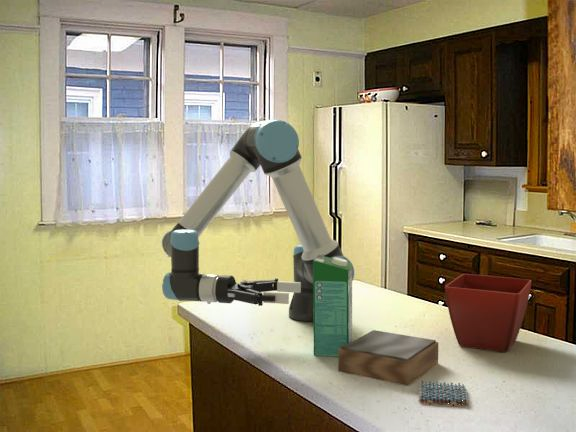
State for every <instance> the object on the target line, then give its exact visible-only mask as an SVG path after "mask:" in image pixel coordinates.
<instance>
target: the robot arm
mask: <svg viewBox="0 0 576 432" xmlns="http://www.w3.org/2000/svg"><path fill="white" fill-rule="evenodd" d="M299 146H300V139H299V134H298V133H297V131H296V129H295V127H293V126H292V124H290V123H289V122H287V121H284V120H282V119H275V118H274V119H273V118H272V119H267V120H260V121H255V122H254V123H253V124H251V125H250V126H248V127H247V128H246V130H245V131H244V132H243V133H242V134H241V136H240V137H239V138H238V140H237V142H235V144H234V146H233V147H232V148H231V149H230V150H229V157H228V159H227V160H226V161H225V162H224V164H223V165H222V166H221V167H220V169H219V170H218V171H217V173H216V174H215V175H214V176H213V177H212V179H211V180H210V181H209V182H208V183H207V185H206V186H205V188H204V189H203V190H202V191H201V193H200V194H199V195H198V197H197V198H196V199H195V201H194V202H193V203H192V204H191V206H189V208H188V210H186V212H185V213H184V215H182V217H181V218H180V219H179V221H178V222H177V223H176V225H175V226H174V227H173V228H172V230H171V229H170V231H167V232H166V233H164V235H163V236H162V240H161V247H162V249H163V251H164V252H165V254H166V255H167V256H168V257H170V260H171V263H170V264H171V265H170V266H171V270H170V272H167V273H165V275H164V276H163V279H162V284H161V289H162V294H163V295H164V297H165V299H167V300H172V301H173V300H175V301H179V302H202V303H203V302H204V303H205V302H206V304H208V305H210V304H211V303H217V302H218V303H220V304H232V303H233V302H234V301H238V302H242V303H247V304H251V305H257V306H259V307H261V306H263V304H264V303H265V304H278V305H279V304H283V305H288V304H289V303H290V304H289V307H288V317H289V318H290V319H292V320H295V321H301V322H314V321H313V260H314V259H315V258H316V257H317V256H318V255H322V256H325V257H329V258H333V257H338V258H342V259H345V260H347V261H348V262H347V263H351V264H352V282H353V281H354V278H355V268H354V264H353V263H352V261H350V259H348V257H346V256H344V254H343V251H342V249H341V247H340V244H339V242H338V241H337V240H336V239H332V238H331V237H330V234H329V232H328V230H327V227H326V225H325V222H324V220H323V218H322V215H321V213H320V210H319V208H318V206H317V204H316V201H315V199H314V196H313V195H312V192H311V189H310V187H309V185H308V182H307V179H306V177H305V176H304V172H303V171H302V168H301V165H300V164H301V161H302V154H301V153H300V150H299ZM259 167H261V169H262V171H263V174H264V175H266V176H269V177H270V178H271V179H272V181H273V184H274V186H275V187H276V190H277V192H278V196H279V197H280V199H281V202H282V204H283V206H284V209H285V211H286V213H287V215H288V218H289V220H290V222H291V224H292V227H293V228H294V229H293V230H294V231H295V234H296V236H297V238H298V240H299V243H300V244H297V245H295V246H294V247H293V254H292V257H293V281H279V278H276V277H275V278H274V279H262V280H245V279H244V280H242V281H240V283H239V282H238V283H237V281H236V278H235V277H234V276H233V275H227V274H222V275H219V274H209V273H200V272H199V271H200V267H199V265H200V261H199V260H200V257H199V256H200V255H199V254H200V252H199V250H200V247H199V246H200V241H199V237H200V236H201V235H202V234H203V233H204V231H205V230H206V229H207V228H208V226H209V225H210V224H212V223H211V222H212V221H213V220H214V219H215V217H216V216H217V215H218V214H219V213H220V211H221V210H222V208H223V207H224V206H225V205H226V203H228V202H229V199H231V197H232V196H233V194H234V193H235V192H236V191H237V190H238V188H239V187H240V186H241V185H242V184H243V182H244V181H245V179H246V178H247V177H248V176H249V175H250V173H255V172H256V171H257V170H258V168H259ZM290 293H292V294H293V295H292V297H291V301H290V300H289V299H290V298H289V297H290V296H289V295H290Z"/></svg>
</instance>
